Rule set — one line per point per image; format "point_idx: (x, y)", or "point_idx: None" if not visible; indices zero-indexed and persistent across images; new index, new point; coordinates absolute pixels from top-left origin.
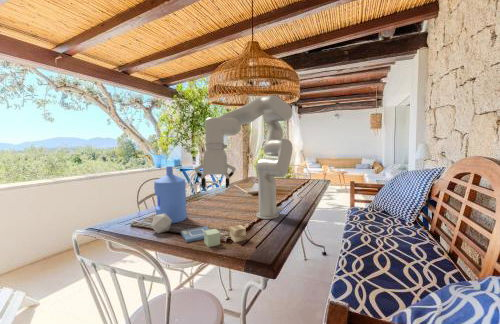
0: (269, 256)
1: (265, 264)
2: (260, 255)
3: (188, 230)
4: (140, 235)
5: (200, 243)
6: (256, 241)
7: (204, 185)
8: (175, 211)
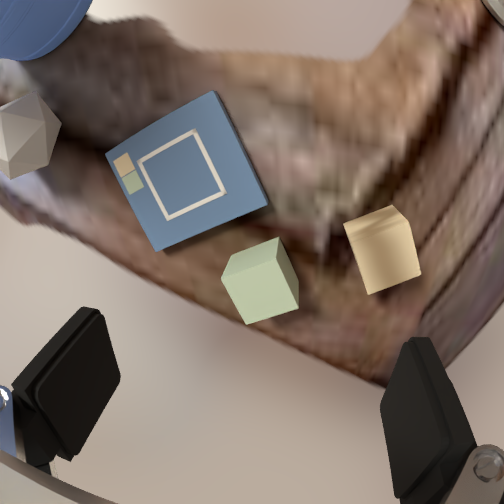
0: None
1: None
2: None
3: (136, 150)
4: None
5: (217, 262)
6: (438, 271)
7: (107, 400)
8: (31, 32)
